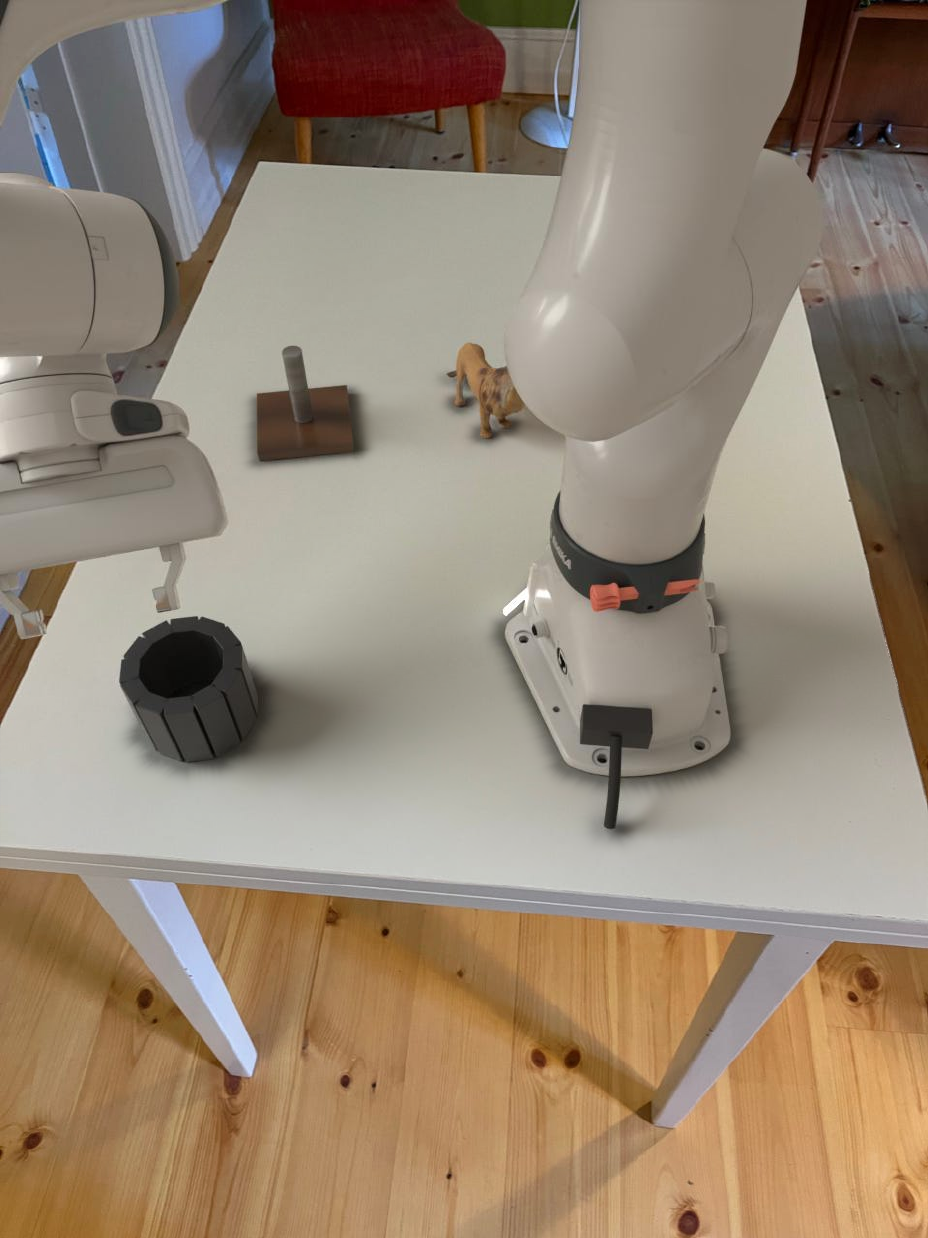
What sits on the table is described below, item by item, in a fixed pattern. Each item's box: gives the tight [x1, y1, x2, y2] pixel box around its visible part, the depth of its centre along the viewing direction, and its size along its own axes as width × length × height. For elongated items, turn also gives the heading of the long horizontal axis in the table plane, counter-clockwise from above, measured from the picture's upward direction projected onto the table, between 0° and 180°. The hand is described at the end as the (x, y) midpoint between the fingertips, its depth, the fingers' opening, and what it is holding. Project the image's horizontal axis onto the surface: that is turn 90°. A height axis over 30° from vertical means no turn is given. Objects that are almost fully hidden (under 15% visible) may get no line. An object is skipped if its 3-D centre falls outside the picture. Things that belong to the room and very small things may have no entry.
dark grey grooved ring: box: [118, 615, 259, 763], centre depth 75 cm, size 9×9×7 cm
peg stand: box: [256, 345, 355, 462], centre depth 97 cm, size 10×10×10 cm
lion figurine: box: [446, 342, 526, 439], centre depth 99 cm, size 15×5×9 cm, turn 34°
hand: (102, 623), depth 67 cm, fingers open, 8 cm apart
